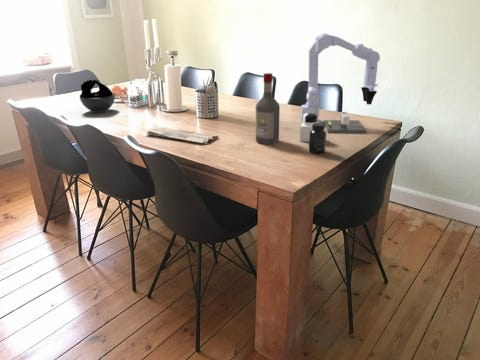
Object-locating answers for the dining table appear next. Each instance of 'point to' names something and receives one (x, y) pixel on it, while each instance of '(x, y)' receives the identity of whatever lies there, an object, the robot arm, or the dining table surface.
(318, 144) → the supplement bottle
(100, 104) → the coal bowl
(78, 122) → the dining table surface
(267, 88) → the liquor
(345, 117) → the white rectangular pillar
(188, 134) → the newspaper
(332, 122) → the base
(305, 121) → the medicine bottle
